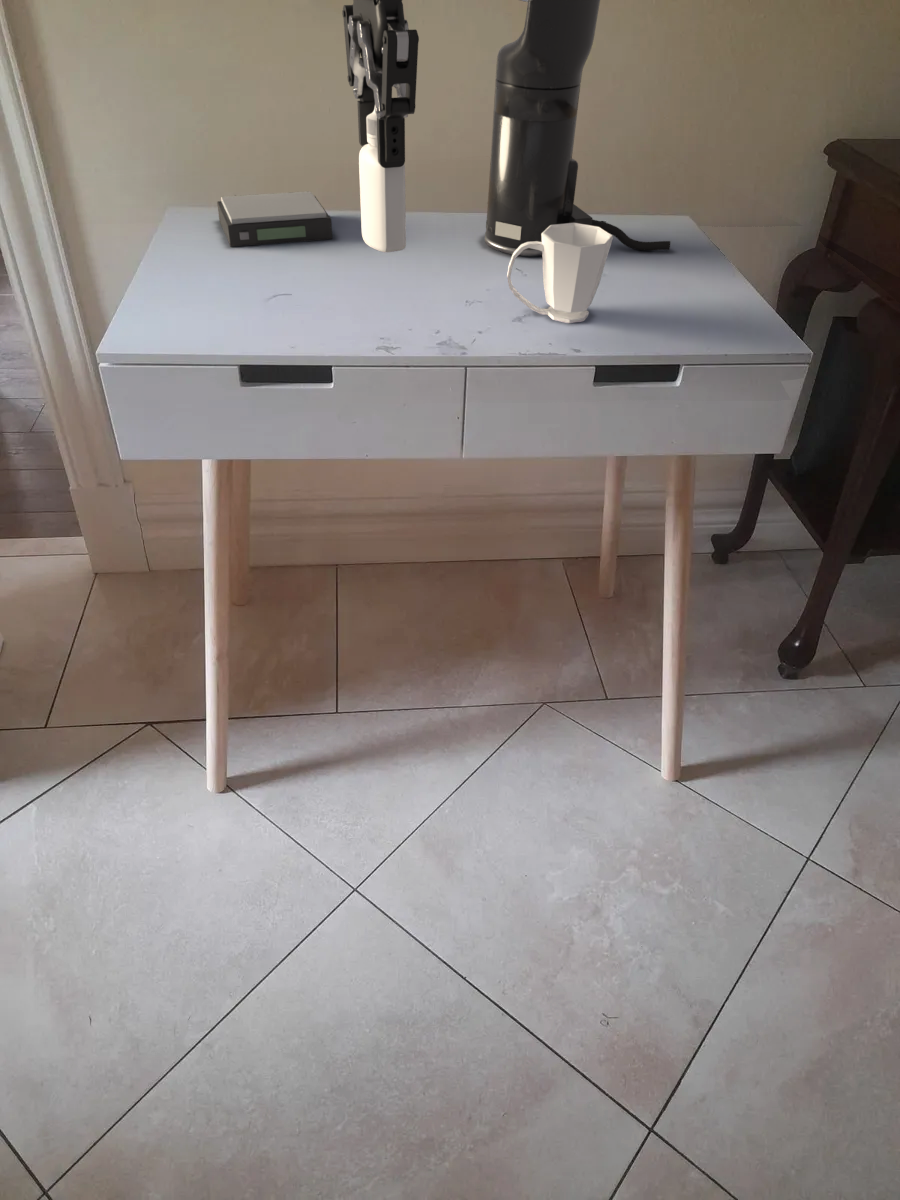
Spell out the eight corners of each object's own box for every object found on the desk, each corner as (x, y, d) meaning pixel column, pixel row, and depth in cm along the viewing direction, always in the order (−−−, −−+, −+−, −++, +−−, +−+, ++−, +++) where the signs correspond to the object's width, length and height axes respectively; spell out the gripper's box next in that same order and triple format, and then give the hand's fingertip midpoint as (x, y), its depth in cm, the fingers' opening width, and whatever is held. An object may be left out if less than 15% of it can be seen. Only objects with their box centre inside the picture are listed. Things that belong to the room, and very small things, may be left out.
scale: (315, 215, 112) (314, 190, 110) (332, 240, 105) (331, 213, 103) (219, 221, 109) (216, 195, 107) (230, 247, 102) (227, 221, 100)
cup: (605, 330, 89) (618, 248, 84) (505, 326, 89) (512, 243, 83) (597, 302, 94) (608, 223, 89) (503, 298, 94) (509, 219, 89)
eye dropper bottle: (409, 233, 85) (408, 91, 77) (405, 255, 80) (403, 107, 72) (363, 231, 85) (357, 89, 77) (356, 253, 80) (350, 105, 72)
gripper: (454, -79, 62) (449, 177, 73) (395, -95, 72) (398, 132, 84) (351, -79, 60) (361, 184, 71) (305, -95, 70) (320, 137, 82)
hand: (381, 155), depth 77 cm, fingers closed on eye dropper bottle, 5 cm apart
